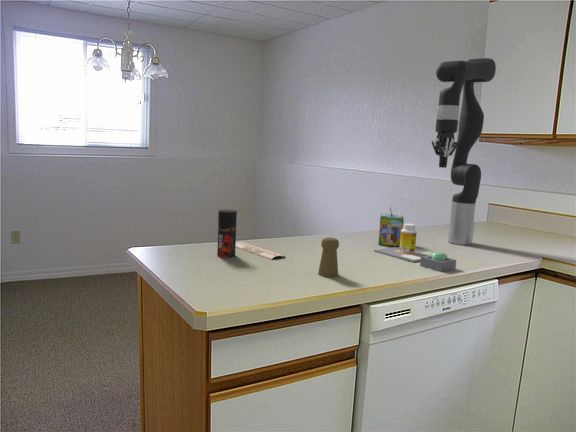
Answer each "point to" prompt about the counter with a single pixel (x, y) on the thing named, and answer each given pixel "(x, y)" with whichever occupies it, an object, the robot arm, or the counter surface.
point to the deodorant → (226, 233)
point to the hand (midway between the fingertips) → (442, 167)
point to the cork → (329, 258)
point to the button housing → (438, 263)
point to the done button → (438, 256)
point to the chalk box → (390, 229)
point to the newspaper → (257, 250)
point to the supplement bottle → (408, 239)
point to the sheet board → (405, 254)
